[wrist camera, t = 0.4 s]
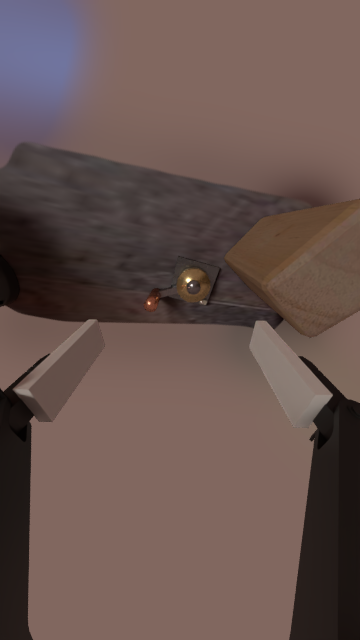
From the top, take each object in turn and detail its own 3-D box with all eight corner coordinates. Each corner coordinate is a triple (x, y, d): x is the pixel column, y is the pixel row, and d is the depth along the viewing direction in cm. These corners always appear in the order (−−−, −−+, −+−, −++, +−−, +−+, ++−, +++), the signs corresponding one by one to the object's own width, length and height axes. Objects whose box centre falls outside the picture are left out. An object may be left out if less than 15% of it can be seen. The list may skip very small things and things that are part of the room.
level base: (169, 295, 37) (168, 299, 35) (178, 255, 33) (177, 257, 31) (205, 304, 38) (206, 308, 36) (218, 267, 33) (221, 269, 31)
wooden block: (263, 214, 29) (381, 188, 11) (291, 254, 32) (418, 281, 14) (221, 257, 33) (261, 286, 15) (250, 289, 36) (310, 343, 18)
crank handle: (156, 308, 37) (151, 322, 31) (145, 279, 34) (137, 290, 28) (211, 294, 35) (217, 307, 29) (205, 262, 32) (210, 270, 26)
